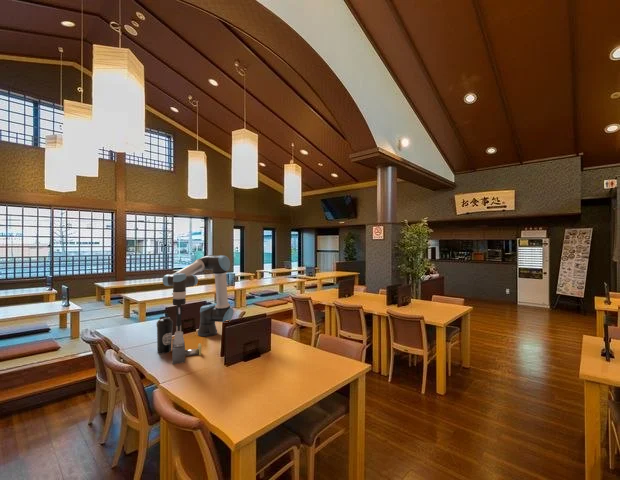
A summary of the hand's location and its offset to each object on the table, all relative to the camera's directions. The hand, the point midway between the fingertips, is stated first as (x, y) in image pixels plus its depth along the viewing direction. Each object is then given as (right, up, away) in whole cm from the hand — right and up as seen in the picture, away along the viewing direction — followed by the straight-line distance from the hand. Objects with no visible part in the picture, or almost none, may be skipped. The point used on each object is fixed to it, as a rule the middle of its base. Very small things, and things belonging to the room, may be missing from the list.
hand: (178, 335), depth 192 cm
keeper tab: (0, -5, -1) cm, 5 cm away
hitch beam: (-2, -15, +4) cm, 16 cm away
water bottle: (-16, -15, +15) cm, 27 cm away
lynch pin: (+5, -15, +8) cm, 18 cm away
